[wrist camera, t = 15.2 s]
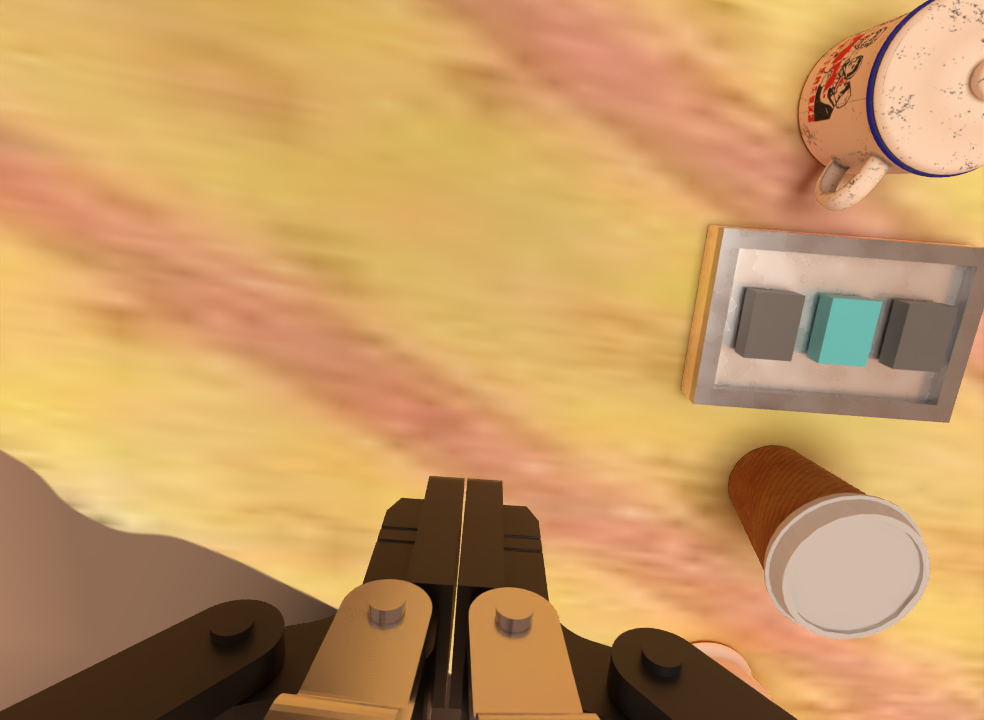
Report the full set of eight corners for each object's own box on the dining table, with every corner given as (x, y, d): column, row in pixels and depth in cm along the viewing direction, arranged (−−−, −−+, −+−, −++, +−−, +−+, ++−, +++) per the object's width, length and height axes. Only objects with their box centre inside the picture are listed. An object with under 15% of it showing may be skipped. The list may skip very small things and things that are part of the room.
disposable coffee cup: (722, 418, 46) (798, 497, 35) (846, 433, 47) (962, 517, 35) (694, 529, 49) (756, 636, 37) (811, 543, 49) (908, 654, 38)
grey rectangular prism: (746, 288, 41) (756, 292, 40) (794, 291, 41) (805, 295, 40) (734, 351, 42) (743, 357, 41) (780, 354, 42) (791, 361, 41)
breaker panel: (708, 224, 42) (724, 227, 39) (966, 244, 43) (1001, 249, 40) (680, 389, 46) (693, 403, 43) (920, 407, 46) (949, 422, 43)
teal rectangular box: (820, 293, 41) (833, 297, 40) (868, 297, 41) (882, 301, 40) (806, 356, 42) (818, 363, 41) (852, 360, 42) (865, 366, 41)
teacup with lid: (857, -3, 38) (1006, -79, 27) (964, 82, 40) (1148, 43, 29) (735, 167, 41) (825, 161, 30) (838, 241, 43) (961, 262, 31)
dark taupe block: (894, 299, 41) (910, 303, 40) (941, 302, 41) (959, 307, 40) (878, 362, 42) (892, 369, 41) (923, 365, 42) (940, 372, 41)
